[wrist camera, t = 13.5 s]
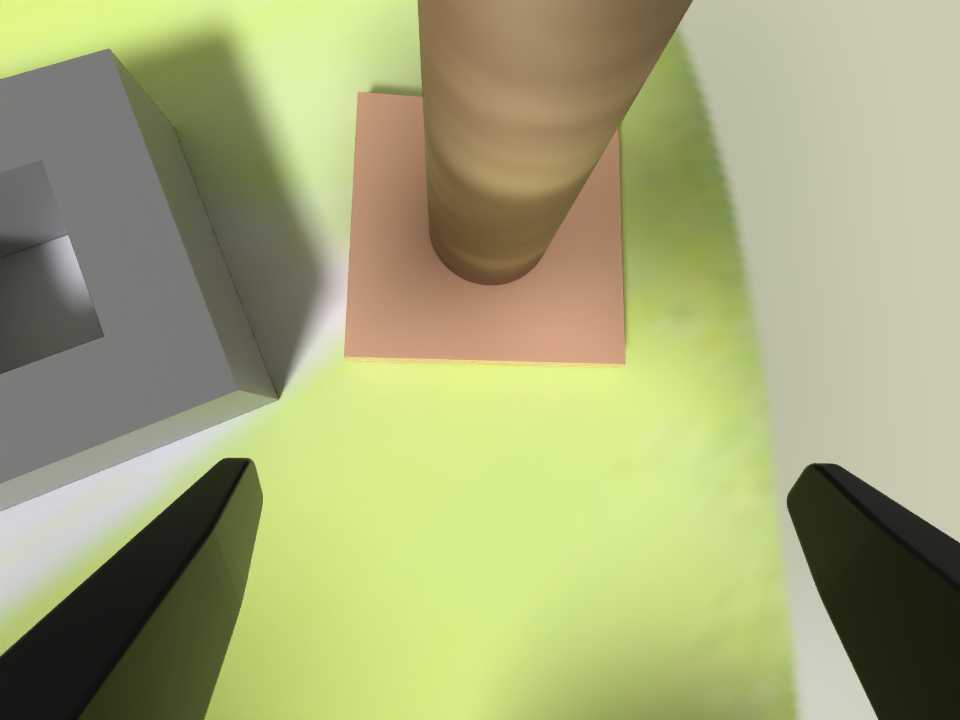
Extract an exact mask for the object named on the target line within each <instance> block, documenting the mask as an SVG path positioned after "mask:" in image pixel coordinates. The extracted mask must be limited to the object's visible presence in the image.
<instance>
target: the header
mask: <svg viewBox="0 0 960 720" xmlns="http://www.w3.org/2000/svg"><path fill="white" fill-rule="evenodd" d="M65 235H69V238H70V241H71V243H72V246H73V249H74V252H75V255H76V258H77V260H78V263H79V266H80V269H81V272H82V274H83V277H84V280H85V283H86V286H87V289H88V291H89V294H90V297H91V300H92V303H93V305H94V308H95V311H96V314H97V317H98V320H99V322H100V325H101V328H102V331H103V334H104V337H101V338H98V339H96V340H93V341H90V342H87V343H85V344H82V345H79V346H76V347H74V348H71V349H68V350H65V351H63V352H60V353H57V354H54V355H52V356H49V357H46V358H43V359H41V360H38V361H35V362H32V363H30V364H27V365H24V366H21V367H19V368H16V369H13V370H10V371H8V372H5V373H2V374H0V511H2V510H5V509H7V508H10V507H12V506H15V505H17V504H20V503H22V502H25V501H27V500H30V499H32V498H35V497H37V496H40V495H42V494H45V493H47V492H50V491H52V490H55V489H57V488H60V487H62V486H65V485H67V484H70V483H72V482H75V481H77V480H80V479H82V478H85V477H87V476H90V475H92V474H95V473H97V472H100V471H102V470H105V469H107V468H110V467H112V466H115V465H117V464H120V463H122V462H125V461H127V460H130V459H132V458H135V457H137V456H140V455H142V454H145V453H147V452H150V451H152V450H155V449H157V448H160V447H162V446H165V445H167V444H170V443H172V442H175V441H177V440H180V439H182V438H185V437H187V436H190V435H192V434H195V433H197V432H200V431H202V430H205V429H207V428H210V427H212V426H215V425H217V424H220V423H222V422H224V421H227V420H229V419H232V418H234V417H237V416H239V415H242V414H244V413H247V412H249V411H252V410H254V409H257V408H259V407H262V406H264V405H267V404H269V403H272V402H274V401H277V400H279V399H278V397H277V394H276V391H275V389H274V386H273V384H272V381H271V378H270V376H269V373H268V371H267V368H266V365H265V363H264V360H263V358H262V355H261V352H260V350H259V347H258V345H257V342H256V339H255V337H254V334H253V332H252V329H251V327H250V324H249V321H248V319H247V316H246V314H245V311H244V308H243V306H242V303H241V301H240V298H239V295H238V293H237V290H236V288H235V285H234V282H233V280H232V277H231V275H230V272H229V269H228V267H227V264H226V262H225V259H224V257H223V254H222V251H221V249H220V246H219V244H218V241H217V238H216V236H215V233H214V231H213V228H212V225H211V223H210V220H209V218H208V215H207V212H206V210H205V207H204V205H203V202H202V200H201V197H200V194H199V192H198V189H197V187H196V184H195V181H194V179H193V176H192V174H191V171H190V168H189V166H188V163H187V161H186V158H185V155H184V153H183V150H182V148H181V145H180V142H179V140H178V137H177V135H176V132H175V130H174V127H173V125H172V124H171V123H170V121H169V120H168V119H167V118H166V117H165V115H164V114H163V113H162V112H161V111H160V109H159V108H158V107H157V106H156V104H155V103H154V102H153V101H152V100H151V98H150V97H149V96H148V95H147V94H146V92H145V91H144V90H143V89H142V88H141V86H140V85H139V84H138V83H137V81H136V80H135V79H134V78H133V77H132V75H131V74H130V73H129V72H128V71H127V69H126V68H125V67H124V66H123V65H122V63H121V62H120V61H119V60H118V58H117V57H116V56H115V55H114V54H113V52H112V51H111V50H110V49H106V50H102V51H99V52H95V53H92V54H88V55H85V56H81V57H78V58H74V59H71V60H67V61H64V62H60V63H57V64H53V65H50V66H46V67H43V68H39V69H35V70H32V71H28V72H25V73H21V74H18V75H14V76H11V77H7V78H4V79H0V257H2V256H5V255H8V254H11V253H14V252H17V251H20V250H23V249H26V248H29V247H32V246H35V245H38V244H41V243H44V242H47V241H50V240H53V239H56V238H59V237H62V236H65Z"/></svg>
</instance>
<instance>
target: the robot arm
mask: <svg viewBox="0 0 960 720" xmlns="http://www.w3.org/2000/svg"><path fill="white" fill-rule="evenodd" d="M262 504H263V494H262V489H261V486H260V482H259V478H258V474H257V470H256V466H255V464H254V462H253V460H252V459H249V458H225V459H223V460H221V461H219V462H218V463H217V464H216V465H215V466H213V467H212V468H211V469H210V470H209V471H208V472H207V473H206V474H204V475H203V476H202V477H201V478H200V479H199V480H198V481H197V482H196V483H194V484H193V485H192V486H191V487H190V488H189V489H188V490H187V491H185V492H184V493H183V494H182V495H181V496H180V497H179V498H178V499H176V500H175V501H174V502H173V503H172V504H171V505H170V506H169V507H167V508H166V509H165V510H164V511H163V512H162V513H161V514H160V515H158V516H157V517H156V518H155V519H154V520H153V521H152V522H151V523H149V524H148V525H147V526H146V527H145V528H144V529H143V530H142V531H140V532H139V533H138V534H137V535H136V536H135V537H134V538H133V539H131V540H130V541H129V542H128V543H127V544H126V545H125V546H124V547H122V548H121V549H120V550H119V551H118V552H117V553H116V554H115V555H113V556H112V557H111V558H110V559H109V560H108V561H107V562H106V563H104V564H103V565H102V566H101V567H100V568H99V569H98V570H97V571H95V572H94V573H93V574H92V575H91V576H90V577H89V578H88V579H86V580H85V581H84V582H83V583H82V584H81V585H80V586H79V587H78V588H76V589H75V590H74V591H73V592H72V593H71V594H70V595H69V596H67V597H66V598H65V599H64V600H63V601H62V602H61V603H60V604H58V605H57V606H56V607H55V608H54V609H53V610H52V611H51V612H49V613H48V614H47V615H46V616H45V617H44V618H43V619H42V620H40V621H39V622H38V623H37V624H36V625H35V626H34V627H33V628H31V629H30V630H29V631H28V632H27V633H26V634H25V635H24V636H22V637H21V638H20V639H19V640H18V641H17V642H16V643H15V644H13V645H12V646H11V647H10V648H9V649H8V650H7V651H6V652H4V653H3V654H2V655H1V656H0V720H204V719H205V716H206V713H207V709H208V706H209V703H210V700H211V697H212V694H213V691H214V688H215V685H216V682H217V679H218V676H219V673H220V670H221V667H222V664H223V661H224V658H225V655H226V652H227V649H228V646H229V643H230V640H231V637H232V633H233V630H234V627H235V624H236V621H237V618H238V615H239V611H240V608H241V605H242V600H243V596H244V592H245V587H246V582H247V578H248V573H249V568H250V563H251V559H252V554H253V549H254V544H255V539H256V535H257V530H258V525H259V520H260V515H261V511H262ZM787 508H788V511H789V514H790V517H791V519H792V522H793V525H794V527H795V530H796V533H797V536H798V538H799V541H800V544H801V546H802V549H803V552H804V555H805V558H806V560H807V563H808V566H809V569H810V571H811V574H812V577H813V580H814V582H815V585H816V587H817V590H818V592H819V595H820V597H821V599H822V602H823V604H824V606H825V608H826V611H827V613H828V615H829V617H830V619H831V621H832V623H833V625H834V627H835V630H836V632H837V634H838V636H839V638H840V640H841V642H842V644H843V646H844V649H845V651H846V653H847V655H848V657H849V659H850V661H851V663H852V665H853V667H854V670H855V672H856V674H857V676H858V678H859V680H860V682H861V684H862V686H863V688H864V691H865V693H866V695H867V697H868V699H869V701H870V703H871V705H872V707H873V709H874V711H875V714H876V716H877V718H878V720H960V543H959V542H958V541H956V540H954V539H953V538H951V537H950V536H948V535H947V534H945V533H943V532H942V531H940V530H939V529H937V528H936V527H934V526H932V525H931V524H929V523H928V522H926V521H925V520H923V519H922V518H920V517H919V516H917V515H915V514H914V513H912V512H910V511H909V510H908V509H906V508H904V507H903V506H901V505H900V504H898V503H897V502H895V501H894V500H892V499H890V498H889V497H887V496H886V495H884V494H883V493H881V492H880V491H878V490H876V489H875V488H873V487H872V486H870V485H868V484H867V483H866V482H864V481H862V480H861V479H859V478H858V477H856V476H855V475H853V474H852V473H850V472H848V471H847V470H845V469H844V468H842V467H840V466H839V465H836V464H828V463H826V464H825V463H822V464H821V463H817V464H816V463H814V464H810V465H808V466H807V467H806V468H805V469H804V470H803V472H802V474H801V475H800V477H799V478H798V479H797V481H796V483H795V484H794V486H793V487H792V489H791V490H790V492H789V493H788V496H787Z"/></svg>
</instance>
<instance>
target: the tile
mask: <svg viewBox="0 0 960 720" xmlns="http://www.w3.org/2000/svg"><path fill="white" fill-rule="evenodd" d="M344 357H345V358H346V359H347V360H350V361H388V362H427V363H465V364H503V365H542V366H580V367H619V366H622V365H625V331H624V297H623V263H622V229H621V195H620V161H619V127H618V129H617V130H616V132H615V134H614V135H613V137H612V139H611V141H610V142H609V144H608V146H607V147H606V149H605V151H604V152H603V154H602V156H601V158H600V159H599V161H598V163H597V164H596V166H595V168H594V170H593V171H592V173H591V175H590V176H589V178H588V180H587V181H586V183H585V185H584V187H583V188H582V190H581V192H580V193H579V195H578V197H577V198H576V200H575V202H574V204H573V205H572V207H571V209H570V210H569V212H568V214H567V215H566V217H565V219H564V221H563V222H562V224H561V226H560V227H559V229H558V231H557V233H556V234H555V236H554V238H553V239H552V241H551V243H550V244H549V246H548V248H547V250H546V251H545V253H544V255H543V256H542V258H541V260H540V261H539V262H538V264H537V265H536V266H535V267H534V268H533V269H532V270H531V271H530V272H529V273H528V274H526V275H525V276H523V277H522V278H520V279H518V280H516V281H513V282H510V283H507V284H502V285H494V286H492V285H480V284H476V283H472V282H469V281H467V280H464V279H462V278H460V277H459V276H457V275H455V274H454V273H453V272H452V271H450V270H449V269H448V268H447V267H446V266H445V265H444V264H443V263H442V261H441V260H440V259H439V257H438V256H437V254H436V252H435V250H434V248H433V245H432V243H431V239H430V234H429V220H428V200H427V179H426V159H425V138H424V118H423V98H422V97H421V96H407V95H394V94H381V93H367V92H358V100H357V120H356V139H355V158H354V177H353V196H352V216H351V235H350V254H349V273H348V292H347V312H346V331H345V350H344Z"/></svg>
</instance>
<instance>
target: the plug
mask: <svg viewBox="0 0 960 720" xmlns="http://www.w3.org/2000/svg"><path fill="white" fill-rule="evenodd" d="M691 3H692V0H418V16H419V36H420V57H421V77H422V98H423V118H424V138H425V159H426V179H427V200H428V220H429V234H430V239H431V243H432V245H433V248H434V250H435V252H436V254H437V256H438V257H439V259H440V260H441V261H442V263H443V264H444V265H445V266H446V267H447V268H448V269H449V270H450V271H452V272H453V273H454V274H455V275H457V276H459V277H460V278H462V279H464V280H467V281H469V282H472V283H476V284H480V285H492V286H494V285H502V284H507V283H510V282H513V281H516V280H518V279H520V278H522V277H523V276H525V275H526V274H528V273H529V272H530V271H531V270H532V269H533V268H534V267H535V266H536V265H537V264H538V262H539V261H540V260H541V258H542V256H543V255H544V253H545V251H546V250H547V248H548V246H549V244H550V243H551V241H552V239H553V238H554V236H555V234H556V233H557V231H558V229H559V227H560V226H561V224H562V222H563V221H564V219H565V217H566V215H567V214H568V212H569V210H570V209H571V207H572V205H573V204H574V202H575V200H576V198H577V197H578V195H579V193H580V192H581V190H582V188H583V187H584V185H585V183H586V181H587V180H588V178H589V176H590V175H591V173H592V171H593V170H594V168H595V166H596V164H597V163H598V161H599V159H600V158H601V156H602V154H603V152H604V151H605V149H606V147H607V146H608V144H609V142H610V141H611V139H612V137H613V135H614V134H615V132H616V130H617V129H618V127H619V125H620V124H621V122H622V120H623V118H624V117H625V115H626V113H627V112H628V110H629V108H630V107H631V105H632V103H633V101H634V100H635V98H636V96H637V95H638V93H639V91H640V89H641V88H642V86H643V84H644V83H645V81H646V79H647V78H648V76H649V74H650V72H651V71H652V69H653V67H654V66H655V64H656V62H657V61H658V59H659V57H660V55H661V54H662V52H663V50H664V49H665V47H666V45H667V43H668V42H669V40H670V38H671V37H672V35H673V33H674V32H675V30H676V28H677V26H678V25H679V23H680V21H681V20H682V18H683V16H684V14H685V13H686V11H687V9H688V8H689V6H690V4H691Z"/></svg>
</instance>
